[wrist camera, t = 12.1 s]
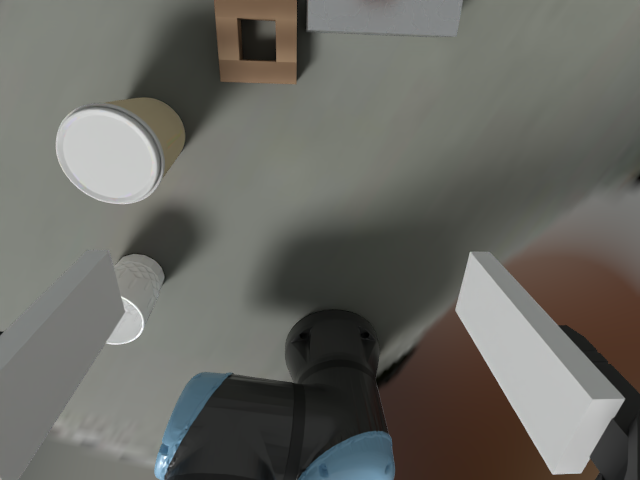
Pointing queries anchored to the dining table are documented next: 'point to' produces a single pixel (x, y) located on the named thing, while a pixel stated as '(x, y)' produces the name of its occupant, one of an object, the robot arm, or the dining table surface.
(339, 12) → the block
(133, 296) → the white cup
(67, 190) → the dining table surface
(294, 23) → the wooden square frame
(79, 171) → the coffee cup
